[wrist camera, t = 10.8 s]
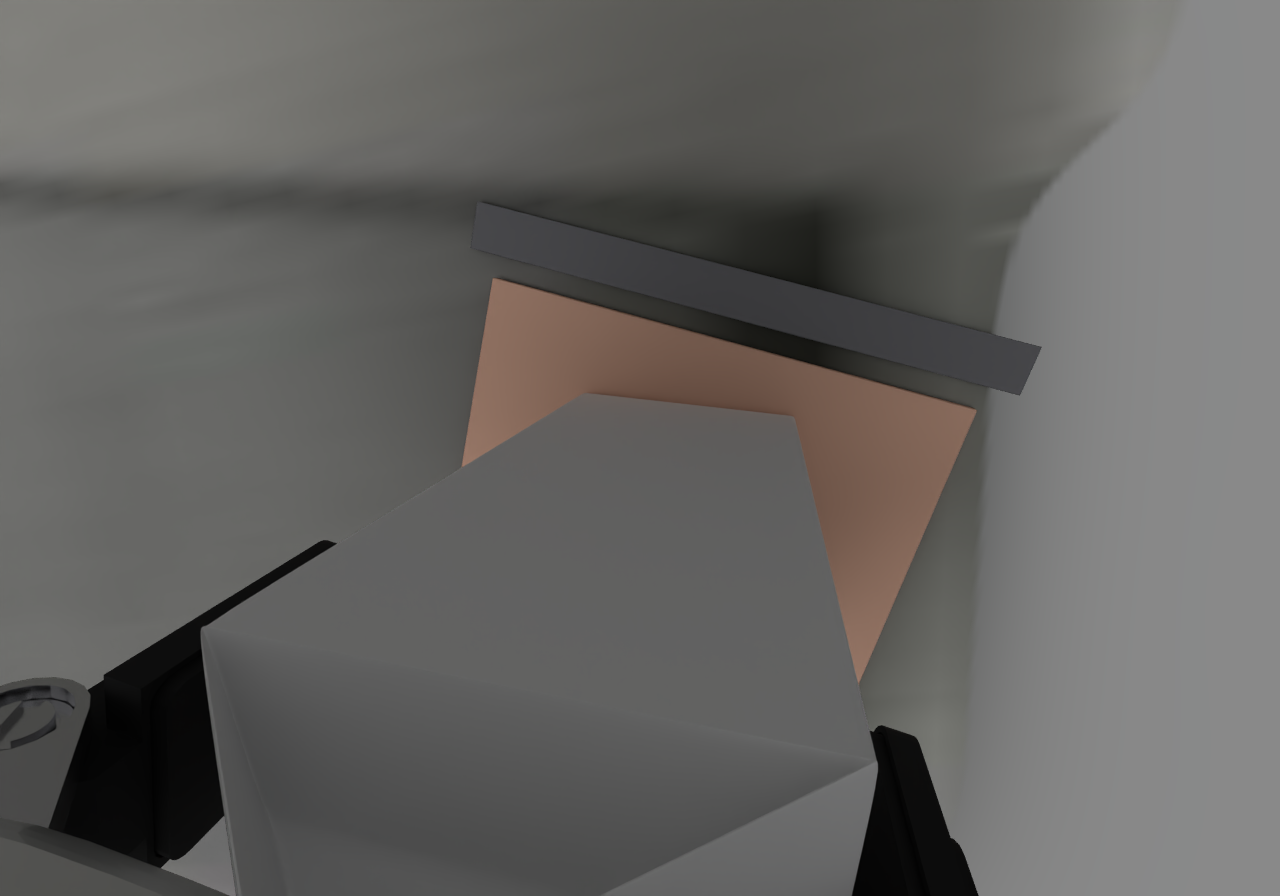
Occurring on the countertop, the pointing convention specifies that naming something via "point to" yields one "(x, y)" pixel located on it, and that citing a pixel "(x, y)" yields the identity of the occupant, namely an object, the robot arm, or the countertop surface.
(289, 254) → the countertop surface
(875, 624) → the mat
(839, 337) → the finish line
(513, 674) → the milk carton
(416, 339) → the countertop surface
